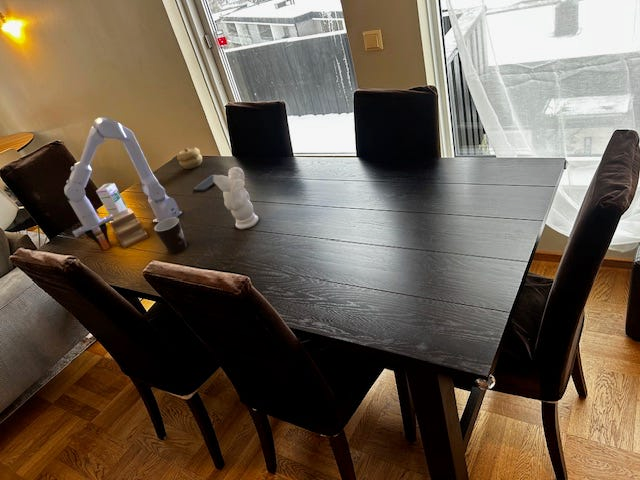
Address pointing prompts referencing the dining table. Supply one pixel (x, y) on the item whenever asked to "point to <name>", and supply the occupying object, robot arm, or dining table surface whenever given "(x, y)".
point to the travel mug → (96, 230)
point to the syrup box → (111, 198)
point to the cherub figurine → (237, 197)
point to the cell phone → (205, 184)
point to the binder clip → (103, 242)
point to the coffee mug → (171, 235)
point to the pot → (189, 158)
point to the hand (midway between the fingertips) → (104, 244)
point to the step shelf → (127, 228)
